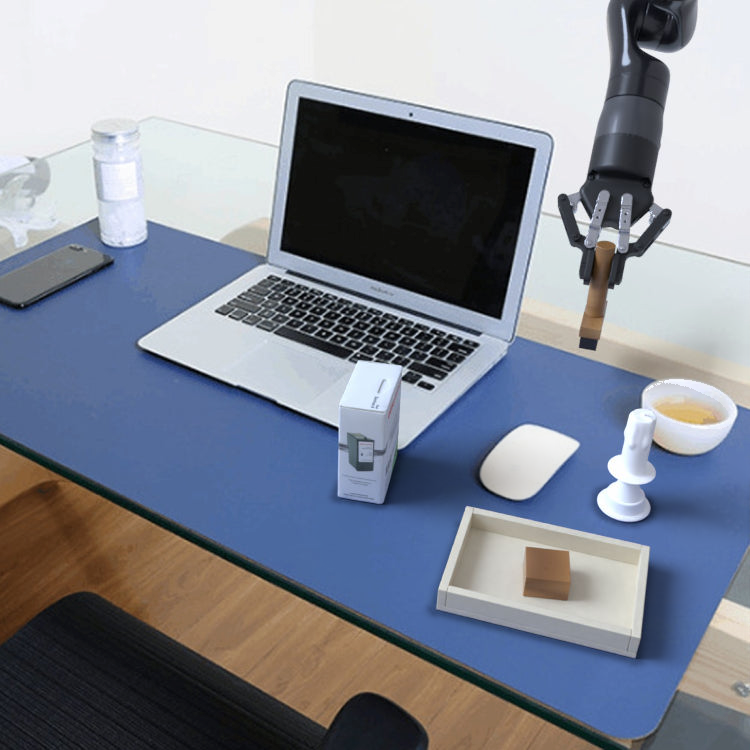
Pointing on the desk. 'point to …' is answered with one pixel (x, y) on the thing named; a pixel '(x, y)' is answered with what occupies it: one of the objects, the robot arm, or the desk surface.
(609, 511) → the candle
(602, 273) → the brush
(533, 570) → the brown block
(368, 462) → the ink box
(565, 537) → the tray
